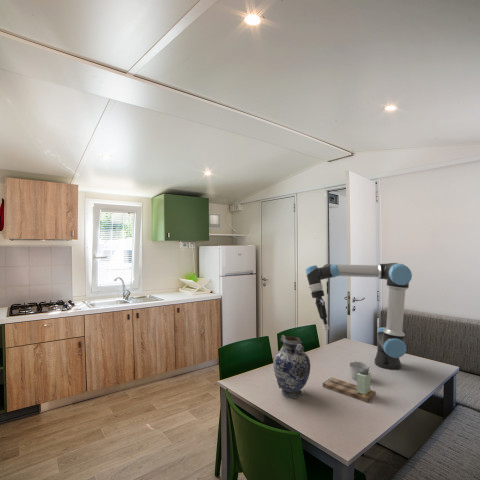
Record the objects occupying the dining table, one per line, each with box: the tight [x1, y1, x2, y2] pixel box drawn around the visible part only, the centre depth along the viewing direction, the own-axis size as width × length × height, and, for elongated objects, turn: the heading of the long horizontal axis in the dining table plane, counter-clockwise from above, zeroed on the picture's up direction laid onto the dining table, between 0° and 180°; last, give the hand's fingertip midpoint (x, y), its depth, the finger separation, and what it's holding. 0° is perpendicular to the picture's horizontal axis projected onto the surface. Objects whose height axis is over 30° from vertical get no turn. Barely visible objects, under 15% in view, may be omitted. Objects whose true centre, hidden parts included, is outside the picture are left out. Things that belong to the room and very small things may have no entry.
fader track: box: [322, 377, 377, 403], centre depth 163 cm, size 24×10×2 cm, turn 46°
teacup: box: [348, 360, 370, 381], centre depth 179 cm, size 14×11×8 cm
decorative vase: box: [273, 334, 311, 399], centre depth 161 cm, size 21×19×28 cm
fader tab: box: [356, 368, 372, 395], centre depth 157 cm, size 4×7×11 cm, turn 136°
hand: (326, 329), depth 189 cm, fingers closed
